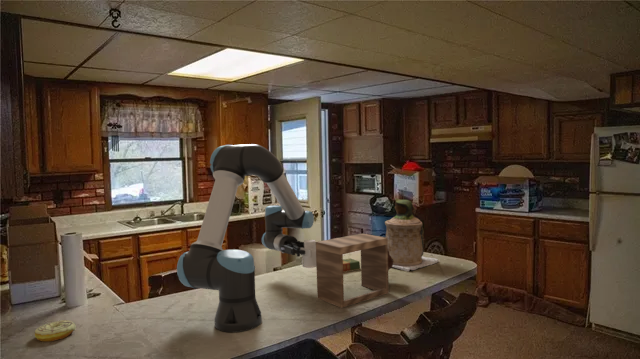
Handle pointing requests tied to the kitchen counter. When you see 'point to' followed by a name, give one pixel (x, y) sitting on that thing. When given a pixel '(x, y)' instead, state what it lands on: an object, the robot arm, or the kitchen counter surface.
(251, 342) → the kitchen counter surface
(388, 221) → the cookie jar
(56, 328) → the decorated donut
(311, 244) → the downlight
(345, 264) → the carton
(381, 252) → the counter shelf
